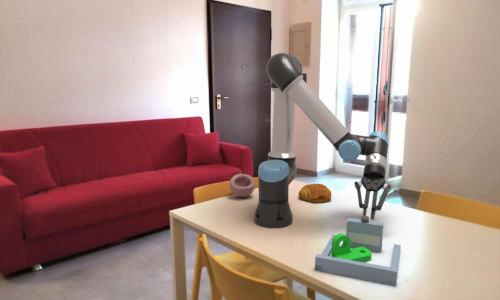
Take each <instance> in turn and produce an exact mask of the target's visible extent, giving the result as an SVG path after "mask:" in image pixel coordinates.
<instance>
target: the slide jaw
mask: <svg viewBox="0 0 500 300" xmlns="http://www.w3.org/2000/svg"><path fill="white" fill-rule="evenodd" d="M360 217H361V219H360V218H352V217H348V218H347V220H346V232H345V233H346V234H345V235H346V236H348V237H349V238H350V241H351V244H350V249H352V248H357V247H362V246H363V247H365V248H367V249H368V250H370V251H371V252H375V253H382V250H383V239H384V237H383V236H384V235H383V233H384V222H383V221H375V220H371V221H369V217H368V216H363V215H361V216H360Z"/></svg>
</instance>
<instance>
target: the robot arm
mask: <svg viewBox="0 0 500 300" xmlns="http://www.w3.org/2000/svg"><path fill="white" fill-rule="evenodd" d="M265 67H266V68H265V70H266V75H267V77H268V79H269V80H270V90H272V92H273V115H272V133H271V134H272V137H271V138H272V139H271V151H269V152H268V153H267V160H264V161H262V162H261V163H260V164H259V165H258V170H257V175H258V177H257V178H258V202H257V206H256V209H255V212H254V217H253V219H254V223H255V224H256V225H258V226H261V227H264V228H265V227H266V228H273V229H274V228H283V227H284V228H285V227H287V226H290V225H292V224H293V222H294V221H293V220H294V219H293V218H294V215H293V212H292V209H291V206H290V202H289V188H290V187H289V186H290V184H291V183H292V182H293V181H294V180H295V177H296V176H297V164H296V155H297V154H295V153H294V152H293V147H294V146H293V144H294V143H293V142H294V127H295V126H294V124H295V105H297V106H298V108H299V109H300V110H301V111H302V112H303V113H304V114H305V115H306V117H307V118H308V119H309V120H310V121H311V123H313V125H315V127H316V128H317V129H318V130H319V131H320V132H321V134H322V135H323V136H324V137H325V138H326V139H327V141H329V142H330V144H331V145H332V146H333V148H335V151H337V152H338V155H339V157H340V158H341V159H342V160H343V161H346V162H353V161H355V160H357V159H358V158H359V156H360V155H361V156H365V161H364V168H363V174H362V177H361V179H360V180H359V181H354V183H353V184H354V188H355V190H356V192H357V200H358V206H359V209H362V216H368V217H369V221H372V220H375V216H376V212H377V211H378V212H379V211H381V210H382V208H383V205H384V204H385V201H386V199H387V196H388V194H389V193H390V192H391V191H392V185H391V184H387V183H386V180H385V176H386V167H387V157H388V150H389V137H388V135H387V134H386V133H385V132H383V131H378V130H377V131H372V132H371V133H369V135H368V136H367V135H366V136H365V135H360V134H359V135H358V134H353V133H350V132H349V130H348V129H347V128H346V127H345V126H344V125H343V123H342V122H341V121H340V120H339V119H338V118H337V117H336V115H335V114H334V113H333V112H332V111H331V110H330V109H329V108H328V107H327V105H326V104H325V103H324V102H323V100H321V99H320V97H319V95H317V93H315V91H314V90H312V88H311V87H310V86H309V84H307V82H306V81H305V80H304V75H303V67H302V63H301V61H300V60H299V58H298V57H296V56H295V55H292V54H288V53H285V52H279V53H276V54H273V55H272V56H271V57H269V59H268V60H267V63H266V66H265ZM362 186H363V188H364V189H365V195H364V196H365V197H364V201H363V198H362V190H361V188H362ZM382 188H383V191H382V193H381V195H380V198H379V200H378V193H379V191H380V190H381V189H382ZM371 192H373V194H372V199H371V201H372V202H371V207H369V202H370V195H371ZM377 201H378V203H377Z"/></svg>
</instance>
